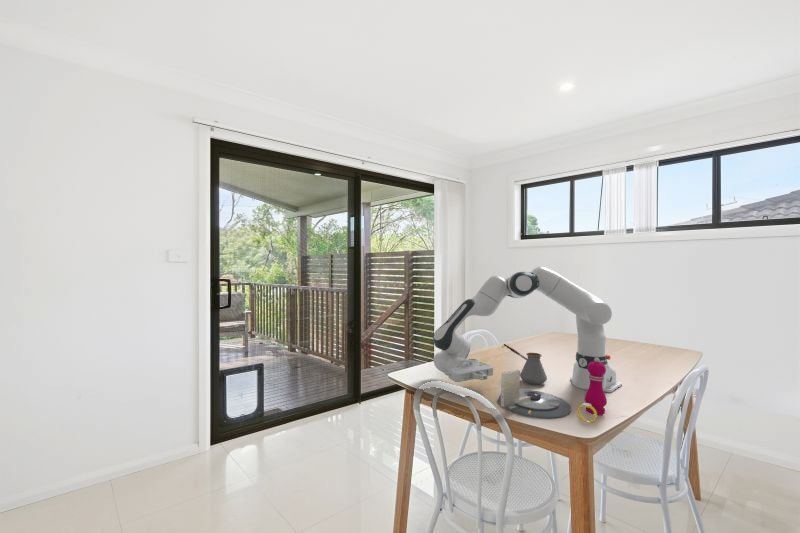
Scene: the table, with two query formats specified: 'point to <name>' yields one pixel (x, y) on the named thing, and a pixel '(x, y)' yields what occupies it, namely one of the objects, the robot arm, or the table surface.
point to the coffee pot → (531, 368)
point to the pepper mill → (596, 387)
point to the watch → (588, 407)
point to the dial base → (560, 412)
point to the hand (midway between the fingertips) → (484, 377)
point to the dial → (524, 394)
